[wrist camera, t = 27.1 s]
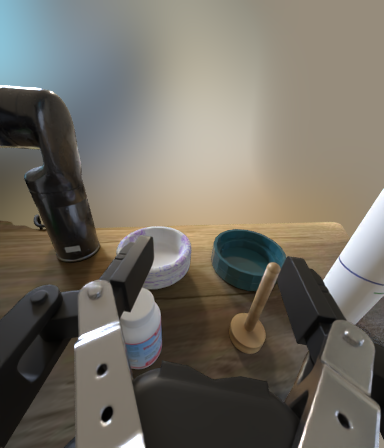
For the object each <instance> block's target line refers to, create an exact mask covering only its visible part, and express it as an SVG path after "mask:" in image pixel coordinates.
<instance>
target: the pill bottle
mask: <svg viewBox="0 0 384 448" xmlns="http://www.w3.org/2000/svg"><path fill="white" fill-rule="evenodd" d="M120 321H121V325H122V330H123V334H124V339H125V343H126V348H127V352H128V356H129V361H130V365H131V368H133V369H143V368H146V367H149V366H150V365H152V364H153V363H154V362H155V361H156V359H157V358H158V356H159V354H160V352H161V348H162V329H161V313H160V309H159V307H158V305H157V304H156V303H155V302H154V297H153V295H152V293H151V292H150V291H149V290H147V289H145V288H142V289H141V291H140V293H139V295H138V297H137V299H136V302H135V304H134V306H133V308H132V310H131V312H125V311H124V312H123V314H122V316H121V318H120Z"/></svg>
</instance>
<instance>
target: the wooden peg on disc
mask: <svg viewBox="0 0 384 448" xmlns="http://www.w3.org/2000/svg"><path fill="white" fill-rule="evenodd" d="M280 270H281V269H280V266H279V265H278V264H277V263H274V262H271V263H269V264H268V265H267V267H266V270H265V272H264V275H263V277H262V280H261V282H260V285H259V288H258V290H257V293H256V295H255V298H254V300H253V303H252V305H251V308H250V310H249V313H248V314H247V313H239V314H237V315H235V316H234V317H233V319H232V321H231V324H230V327H229V336H230V339H231V341H232V343H233V344H234V346H235V347H236V348H237V349H239V350H240V351H242V352H244V353H247V354H253V353H256V352H258V351H259V350H260V348H261V347H262V345H263V343H264V341H265V337H266V334H265V329H264V327H263V325H262V324H261V322H260V321H259V320H258V319H259V317H260V315H261V313H262V311H263V308H264V306H265V304H266V302H267V300H268V297H269V295H270V293H271V291H272V289H273V286H274V284H275V282H276V280H277V278H278V275H279V272H280Z"/></svg>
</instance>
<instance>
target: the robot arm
mask: <svg viewBox="0 0 384 448" xmlns="http://www.w3.org/2000/svg"><path fill="white" fill-rule="evenodd" d="M7 147H9V148H10V147H11V148H24V149H37V150H41V153H42V157H43V166H41V167H38V168H35V169H32V170H29V171H28V172H26V173H25V175H24V179H25V181H26V184H27V186H28V188H29V191H30V193H31V195H32V198H33V200H34V202H35V204H36V207H37V209H38V211H39V213H40V216H41V218H42V221H43V223H44V225H42V224H41V220H40V217H39V215H35V217H34V224H35V225H36V226H37V227H39V228H40V229H43V227H45V228H46V230H47V232H48V235H49V237H50V239H51V242H52V244H53V246H54V249H55V251H56V255H57V257H58V259H59V260H61V261H63V262H78V261H82V260H85V259H87V258H89V257H91V256H93V255H94V254H95V253H96V252H97V251H98V250H99V247H100V244H99V241H98V238H97V234H96V230H95V227H94V222H93V218H92V215H91V211H90V208H89V203H88V199H87V196H86V192H85V188H84V184H83V180H82V176H81V175H82V174H81V173H82V168H81V161H80V156H79V151H78V146H77V141H76V135H75V130H74V125H73V122H72V118H71V116H70V113H69V111H68V109H67V107H66V105H65V103H64V102H63V101H62V99H61V98H60V97H59V96H58V95H56V94H55V93H53V92H51V91H49V90H44V89H36V88H35V89H34V88H23V87H11V86H0V148H7ZM153 261H154V243H153V237H151V236H144V235H140V236H139V237H138V238H137V240H136V241H135V243H134V242H130V243H128V244H127V245H125V246H124V247H123V248H122V249H121V250H120V252H119V254H117V256H116V257H115V259H114V260H113V261H112V263H111V264H110V265H109V267H108V268H107V269H106V271H105V272H104V273H103V275H102V276H101V277H100V279H99V280H96V281H93V282H90V283H88V284H87V285H85V286H84V287H83V288H82V289H81V290H76V291H67V292H60V291H59V289H58V287H56V286H54V285H45V286H41V287H38V288H36V289H34V290H32V291H30V292H29V293H28V294H26V295H25V296H24V297H23V298H22V299H21V300H20V301H19V302H18V303H17V304H16V305H15V306H14V307H13V308H12V309H11V310H10V311H9V312H8V313H7V314H6V315H5V316H4V317H3V318H2V319H1V320H0V448H4V447H5V445H6V444H7V442H8V440H9V439H10V437H11V436H12V434H13V432H14V431H15V429H16V427H17V426H18V424H19V423H20V421H21V419H22V418H23V416H24V414H25V413H26V411H27V409H28V408H29V406H30V405H31V403H32V401H33V400H34V398H35V396H36V395H37V393H38V392H39V390H40V388H41V387H42V385H43V383H44V382H45V380H46V378H47V377H48V375H49V374H50V372H51V370H52V369H53V367H54V365H55V364H56V362H57V361H58V359H59V357H60V356H61V354H62V352H63V351H64V349H65V347H66V346H67V344H68V343H69V341H70V339H71V338H74V337H79V339H78V341H76V342H75V349H74V356H75V437H74V438H73V439H72V440H71V441H70V442H69V443H68V444H67V445H66V446H65V447H64V448H379V432H380V433H381V435H382V437H383V439H384V347H382V346H380V345H378V344H375V343H373V342H372V341H371V339H370V338H369V336H368V335H367V334H366V333H365V332H364V331H363V330H361V329H360V328H359V327H357V326H356V325H354V324H352V323H350V322H348V321H347V320H346V318H345V317H344V315H343V313H342V312H341V310H340V308H339V307H338V305H337V303H336V302H335V300H334V298H333V297H332V295H331V294H330V293H329V290H328V288H327V287H326V286H325V283H324V282H323V280H322V279H321V277H320V276H319V275H318V274H317V273H316V272H315V271H314V270H313V269H310V268H309V267H308V266H307V264H306V262H305V260H304V259H303V258H296V257H289V256H288V257H287V258H286V259H285V262H284V264H283V266H282V268H281V270H280V272H279V275H278V287H279V290H280V293H281V296H282V299H283V302H284V305H285V308H286V311H287V314H288V317H289V320H290V323H291V326H292V330H293V333H294V336H295V339H296V342H297V344H303V345H307V347H308V350H309V351H308V352H307V354H306V356H305V358H304V361H303V363H302V366H301V368H300V371H299V373H298V376H297V378H296V380H295V383H294V385H293V388H292V389H291V391H290V393H289V394H288V396H287V398H286V399H285V401H284V402H283V401H282V400H281V399H280V398H279V397H277V396H276V395H274V394H273V393H271V392H270V391H269V389H268V383H267V381H262V380H257V379H252V378H247V377H242V376H239V377H231V378H223V379H211V378H209V377H207V376H205V375H204V374H202V373H200V372H198V371H196V370H194V369H193V368H191V367H189V366H187V365H182V364H177V363H172V362H167V361H162V364H161V368H157V369H153V370H149V371H147V372H145V373H143V374H141V375H140V376H138V377H136V378H135V379H134V378H133V373H132V369H131V365H130V361H129V356H128V352H127V348H126V343H125V339H124V334H123V330H122V325H121V321H120V318H121V316H122V314H123V312H124V311H125V312H131V310H132V308H133V306H134V304H135V302H136V299H137V297H138V295H139V293H140V291H141V289H142V286H143V284H144V282H145V280H146V278H147V276H148V273H149V271H150V269H151V267H152V265H153Z"/></svg>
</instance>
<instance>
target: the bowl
mask: <svg viewBox="0 0 384 448" xmlns="http://www.w3.org/2000/svg"><path fill="white" fill-rule="evenodd" d="M285 259H286V255H285V253H284V251H283V250H282V248H281V247H280V246H279V245H278V244H277V243H276V242H274V241H273V240H271V239H270V238H268V237H266V236H264V235H262V234H260V233H257V232H254V231H249V230H241V229H234V230H227V231H225V232H222V233H220V234H219V235H218V236H217V237H216V238H215V241H214V244H213V250H212V256H211V260H212V266H213V268H214V269H215V271H216V273H217V274H218V275H219V276H220V277H221V278H222V279H223V280H224V281H226V282H227V283H229V284H231V285H233V286H235V287H237V288H240V289H244V290H247V291H257V290H258V288H259V285H260V282H261V280H262V277H263V275H264V272H265V270H266V267H267V265H268V264H269V263H271V262H274V263H277V264H278V265H279V266H280V269H281V268H282V266H283V264H284V262H285ZM277 283H278V278H277V280H276V282H275V284H274V285H276V284H277Z"/></svg>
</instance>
